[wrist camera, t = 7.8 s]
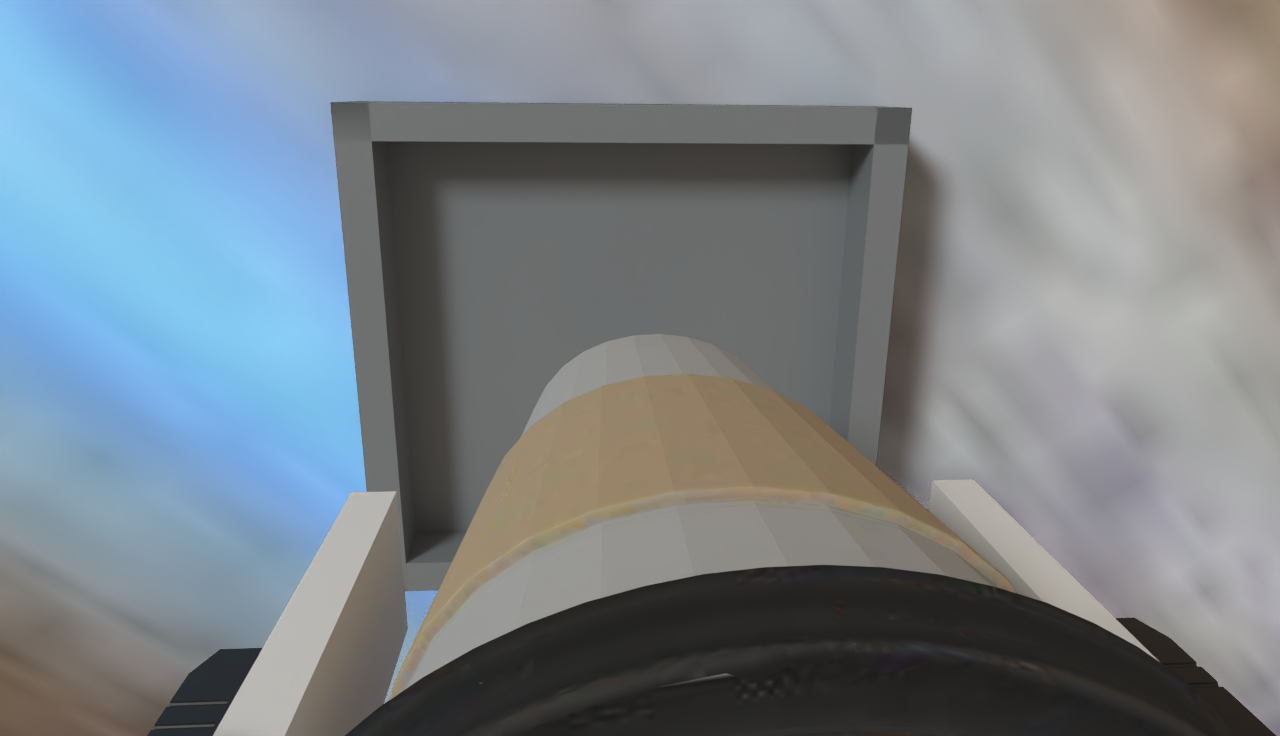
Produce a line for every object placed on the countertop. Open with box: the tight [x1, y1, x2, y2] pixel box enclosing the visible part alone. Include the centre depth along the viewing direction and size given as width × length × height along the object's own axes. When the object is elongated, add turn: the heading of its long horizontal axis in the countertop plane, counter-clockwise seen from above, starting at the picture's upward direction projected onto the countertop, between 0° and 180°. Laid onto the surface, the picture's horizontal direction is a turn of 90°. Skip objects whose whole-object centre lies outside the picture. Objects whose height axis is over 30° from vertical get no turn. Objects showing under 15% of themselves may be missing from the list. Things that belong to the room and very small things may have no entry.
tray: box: [330, 101, 912, 591], centre depth 28 cm, size 16×15×3 cm
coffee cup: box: [345, 334, 1238, 736], centre depth 13 cm, size 9×9×15 cm
